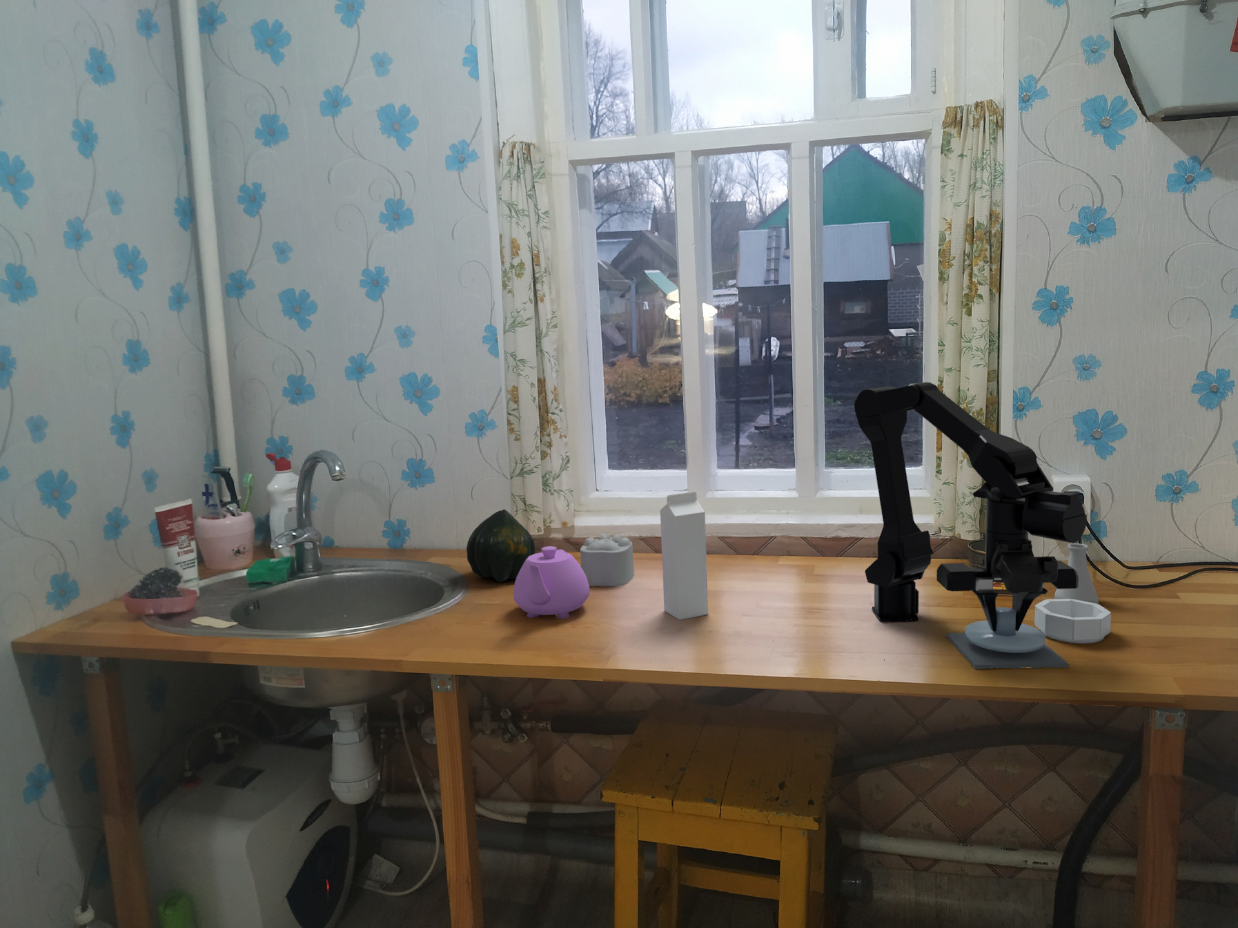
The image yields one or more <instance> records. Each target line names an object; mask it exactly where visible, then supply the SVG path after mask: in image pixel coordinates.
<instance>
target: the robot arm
mask: <svg viewBox="0 0 1238 928" xmlns="http://www.w3.org/2000/svg"><path fill="white" fill-rule="evenodd" d="M853 407H854V409H853V410H854V413H855V417H856V420H857V424H858V426H859V427H858V428H859V429H860V430H861V431H862V433H863V434H864V435H865V436H866V438H867V439H868V440H869V442H870V445H871V453H872V460H873V466H874V471H875V479H876V484H877V485H876V486H877V489H878V496H879V497H878V498H879V504H880V509H881V516H882V517H881V518H882V523H883V524H882V529H881V531H880V535H879V538H878V541H877V544H876V545H877V557H876V559H875V560H874V561H873V562H872V563H871V564H870V565H869V566H868V567H866V569H865V570H864V574H865V578H866V581H867V583H869V584H872V585H874V586H873V587H874V588H873V591H874V592H873V593H874V594H873V597H874V598H873V602H874V604H873V606H871V610H872V612H873V613H874V615H875V616H876V619H878V621H880V622H901V621H902V622H907V621H909V622H911V621H919V616H918V615H917V614H919V610H920V609H919V608H920V607H919V606H920V605H919V604H920V595H919V594H920V591H919V590H918V589H917V588H916V584H917V583H916V581H917V580H921V579H922V580H923V576H924V575H925V570H927V568H928V567H929V565H931V563H932V555H934V551H933V549H932V546H931V534H930V532H929V530H923V531H922V530H921V529H920V527H919V526H918V525H917V524H916V523H915V520H914V519H915V518H914V513H913V507H912V501H911V494H910V489H909V488H910V487H909V480H908V474H907V469H906V468H907V467H906V462H905V456H904V449H903V443H902V436H903V433H904V431H905V427H906V425H907V422H908V411H913V410H914V411H915V412H916V413H918V415H920V416H921V417H922V418H923V419H925V420H926V421H927V422H929V423H930V424H931V425H932V426H933V427H934V428H936V429H937V430H938V431H939V432H940V433H942V434H943V435H944V436H945V437H947V438H948V439H949V440H950V441H952V443H954V444H955V445H956V446H958V448H960V449H961V450H963V452H964V453H965V454H966V455H967V456H968V460H969V462H970V465H971V467H972V468H973V470H974V471H975V472H976V473H977V474H978V475H979V476H980V478H981V479H982V480H983V481H984V482H983V485H982V486H981V487H980V488H978V489H977V490H975V491H974V492H973V493H972V496H973V497H974V498H978V499H985V500H986V514H985V515H986V516H985V518H986V519H985V532H982V540H983V541H985V553H984V554H985V558H982V566H983V567H984V569H972V568H970V567H969V566H968V565H967V564H966V563H964V562H953V563H952V562H950V563H949V562H948V563H941V564H939V566H938V567H937V568H936V581H937V583H939V584H940V585H941V586H942V587H943V588H944V589H945V590H946V591H948V592H972V593H973V594H974V595H976V597H977V599H978V601H979V603H980V605H981V607H982V611H983V613H984V615H985V618H986V620H987V621H988V623H989V626H990V629H991V630H992V631H993V632H995V631H996V625H997V619H996V608H997V604H996V600H997V597H998V595H999V592H998V591H997V590H995V589H994V583H1003V584H1004V587H1005V589H1006V590H1007V591H1008V592H1009V593H1011V594H1012V600H1011V601H1012V602H1011V608H1012V609H1014V610H1016V631H1019V629H1020V626H1021V624H1023V622H1024V620H1025V617H1026V615H1027V613H1028V611H1029V609H1030V607H1031V605H1032V604H1033V602H1034V600H1036V599H1037V598H1038V597H1040V596H1041V595H1046V594H1048V592H1049V590H1048V589H1046V588H1045V587H1044V586H1045V583H1047V584H1051V585H1053V586H1054V588H1056V590H1057V589H1076V588H1078V581H1079V576H1078V573H1077V571H1076V570H1075V569H1074V568H1072V567H1070V566H1069V565H1068V563H1065V562H1063V561H1062V560H1058V559H1056V557H1055V556H1053V555H1052V556H1049V555H1048V556H1046V555H1045V556H1035V555H1034V551H1033V545H1032V542H1033V541H1032V540H1031V539H1029V535H1031V536H1034V537H1038V538H1045V539H1050V540H1055V541H1060V542H1065V543H1068V544H1075V543H1077V542H1078V541H1080V539H1082V536H1083V535H1084V533H1085V530H1086V527H1087V521H1088V518H1087V517H1088V516H1087V514H1086V510H1085V508H1084V506H1083V504H1081V502H1079V493H1077V492H1060V491H1059V492H1058V491H1054V487H1053V485H1052V484H1051V482H1050V480H1049V479H1048V477H1047V475H1046V474H1045V472H1044V471H1043V469H1042V468H1041V466H1040V465H1039V463H1038V460H1037V458H1038V456H1037V454H1036V453H1035V451H1034V449H1033V448H1031V447H1029V446H1028V445H1026V444H1024V443H1022V442H1020V441H1018V440H1016V439H1014V438H1013V437H1009V436H1007V435H1005V434H1004V435H1003V434H1000V433H997V432H995V431H993V430H991V429H989V428H988V427H986V426H985V425H984V424H983V423H981V422H980V421H979V420H977V418H975V417H974V416H973V415H971V414H970V413H969V412H968V411H966V410H965V409H964V408H962V407H961V406H960V405H958V404H957V403H956V402H955V401H953V400H952V399H951V398H949V396H947V395H946V394H944V393H943V392H942V391H941V390H940V389H939V387H938V386H937V385H936V384H935V383H932V382H931V381H930V382H928V381H925V382H916V383H910V384H908V385H906V386H902V387H895V386H886V387H878V388H877V387H875V388H868V389H866V388H865V389H864V390H861V391H860V392H859V393H858V395H857V397H856V398H855V399H854V402H853ZM1023 483H1026V484H1023ZM1019 484H1021V485H1019Z"/></svg>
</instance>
